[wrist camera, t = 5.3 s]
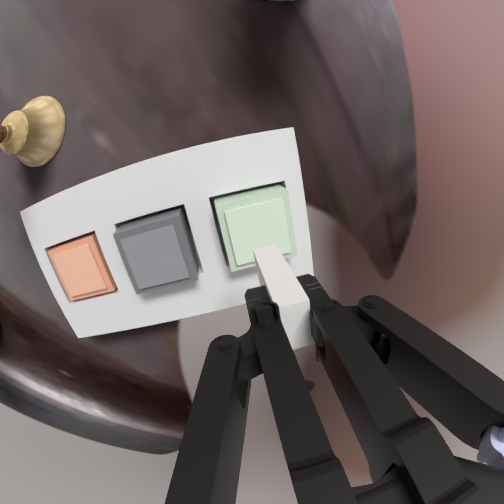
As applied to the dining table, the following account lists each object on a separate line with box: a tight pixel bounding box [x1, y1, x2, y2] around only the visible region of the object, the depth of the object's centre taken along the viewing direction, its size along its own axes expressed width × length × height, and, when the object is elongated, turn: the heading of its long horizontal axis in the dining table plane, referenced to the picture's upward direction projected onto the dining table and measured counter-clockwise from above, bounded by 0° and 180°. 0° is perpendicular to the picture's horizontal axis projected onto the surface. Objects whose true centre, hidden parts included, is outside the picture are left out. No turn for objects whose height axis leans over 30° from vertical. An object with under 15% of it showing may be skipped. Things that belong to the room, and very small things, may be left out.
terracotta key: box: [48, 231, 117, 301], centre depth 25 cm, size 6×6×3 cm
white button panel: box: [20, 127, 314, 338], centre depth 26 cm, size 28×16×5 cm, turn 101°
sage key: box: [214, 184, 297, 272], centre depth 24 cm, size 6×6×3 cm
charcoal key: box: [113, 207, 199, 294], centre depth 23 cm, size 6×6×3 cm
